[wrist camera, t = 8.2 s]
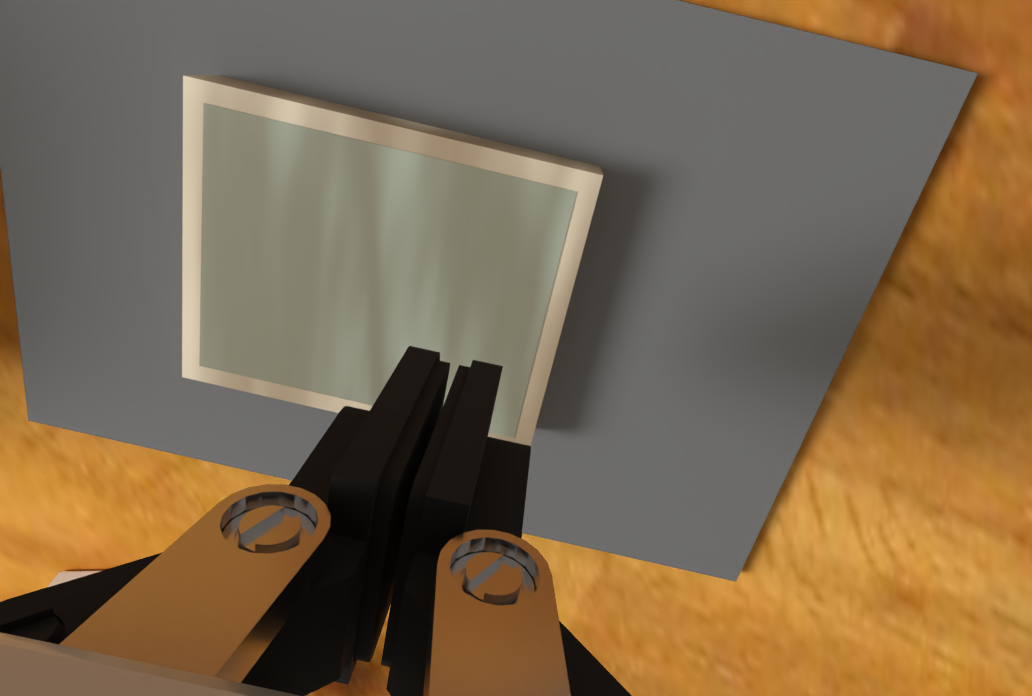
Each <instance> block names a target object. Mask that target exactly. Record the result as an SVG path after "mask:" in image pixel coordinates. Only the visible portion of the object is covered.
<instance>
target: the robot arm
mask: <svg viewBox="0 0 1032 696" xmlns="http://www.w3.org/2000/svg"><path fill="white" fill-rule="evenodd" d="M502 368H503V366H500V365H495V364H491V363H486V362H482V361H477V360H473V361H472V364H471V366H470V367H467V366H462V365H459V367H458V369H457V372H456V374H455V377H454V380H453V382H452V385H451V387H450V390H449V392H448V395H447V398H446V400H445V403H444V398H445V393H446V387H447V381H448V376H449V370H450V363H448V362H444V361H440V352H436V351H431V350H427V349H422V348H418V347H413V346H409V347H408V348H407V350H406V352H405V353H404V355H403V356H402V358H401V360H400V361H399V363H398V365H397V366H396V368H395V370H394V371H393V373H392V375H391V376H390V378H389V380H388V381H387V383H386V385H385V386H384V388H383V390H382V391H381V393H380V395H379V396H378V398H377V400H376V401H375V403H374V405H373V406H372V408H371V410H370V411H368V410H364V409H359V408H355V407H350V406H344V407H343V408H342V409H341V411H340V412H339V413H338V415H337V416H336V418H335V419H334V421H333V422H332V424H331V425H330V426H329V428H328V429H327V431H326V432H325V434H324V435H323V437H322V438H321V440H320V441H319V442H318V444H317V445H316V447H315V448H314V450H313V451H312V453H311V454H310V455H309V457H308V458H307V460H306V461H305V463H304V464H303V466H302V467H301V468H300V470H299V471H298V473H297V474H296V476H295V477H294V479H293V480H292V481H291V483H290V484H289V485H273V484H266V485H260V486H255V487H249V488H246V489H243V490H241V491H238V492H235V493H233V494H231V495H229V496H228V497H226V498H225V499H224V500H222V501H221V502H219V503H218V504H217V505H215V506H214V507H213V508H212V509H211V510H210V511H209V512H208V513H206V514H205V515H204V516H203V517H202V518H201V519H200V520H199V521H197V522H196V523H195V524H194V525H193V526H192V527H191V528H190V529H188V530H187V531H186V532H185V533H184V534H183V535H182V536H181V537H179V538H178V539H177V540H176V541H175V542H174V543H173V544H172V545H170V546H169V547H168V548H167V549H166V550H165V551H164V552H163V553H160V554H156V555H153V556H150V557H146V558H143V559H140V560H136V561H133V562H130V563H127V564H123V565H120V566H117V567H113V568H110V569H107V570H103V571H100V572H97V573H93V574H90V575H87V576H83V577H80V578H77V579H74V580H70V581H67V582H64V583H60V584H57V585H54V586H50V587H47V588H44V589H40V590H37V591H34V592H30V593H27V594H24V595H21V596H17V597H14V598H11V599H7V600H5V601H2V602H0V696H312V694H313V692H314V691H316V690H318V689H320V688H322V687H324V686H326V685H328V684H330V683H332V682H334V681H335V682H339V683H344V684H348V683H349V680H350V678H351V675H352V672H353V670H354V667H355V664H356V661H357V660H360V661H365V662H370V661H371V659H372V656H373V654H374V651H375V648H376V645H377V642H378V639H379V636H380V633H381V630H382V627H383V624H384V622H385V619H386V616H387V613H388V610H389V607H390V604H391V607H390V613H389V619H388V625H387V631H386V637H385V643H384V649H383V655H382V662H381V665H384V666H388V667H390V672H389V677H388V683H387V690H388V692H389V693H390V695H391V696H631V695H630V694H629V693H628V692H627V691H626V689H625V688H624V687H623V686H622V685H621V684H620V683H619V682H618V681H617V680H616V679H615V678H614V677H613V676H612V675H611V674H610V673H609V672H608V671H607V670H606V669H605V668H604V667H603V666H602V665H601V664H600V663H599V661H598V660H597V659H596V658H595V657H594V656H593V655H592V654H591V653H590V652H589V651H588V650H587V649H586V648H585V647H584V646H583V645H582V644H581V643H580V642H579V641H578V640H577V639H576V638H575V637H574V636H573V635H572V633H571V632H570V631H569V630H568V629H567V628H566V627H565V626H564V625H563V624H562V623H561V622H560V621H559V618H558V612H557V605H556V599H555V593H554V586H553V580H552V575H551V572H550V569H549V566H548V563H547V561H546V560H545V559H544V558H543V556H542V555H541V554H540V552H539V551H538V550H537V549H536V548H534V547H533V546H532V545H530V544H529V543H528V542H526V541H525V540H523V539H521V537H522V528H523V518H524V509H525V500H526V491H527V481H528V472H529V463H530V454H531V446H529V445H524V444H520V443H515V442H511V441H506V440H501V439H497V438H492V437H488V433H489V429H490V424H491V419H492V415H493V410H494V406H495V401H496V396H497V392H498V387H499V382H500V378H501V373H502ZM443 404H444V405H443Z"/></svg>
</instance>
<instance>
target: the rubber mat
mask: <svg viewBox="0 0 1032 696" xmlns="http://www.w3.org/2000/svg"><path fill="white" fill-rule="evenodd" d="M977 74H978V73H975V72H971V71H966V70H962V69H958V68H954V67H950V66H946V65H942V64H938V63H934V62H929V61H925V60H921V59H917V58H913V57H909V56H905V55H901V54H897V53H892V52H888V51H884V50H880V49H876V48H872V47H868V46H864V45H860V44H855V43H851V42H847V41H843V40H839V39H835V38H831V37H827V36H823V35H819V34H814V33H810V32H806V31H802V30H798V29H794V28H790V27H786V26H782V25H777V24H773V23H769V22H765V21H761V20H757V19H753V18H749V17H745V16H740V15H736V14H732V13H728V12H724V11H720V10H716V9H712V8H708V7H703V6H699V5H695V4H691V3H687V2H683V1H679V0H0V169H1V178H2V187H3V196H4V205H5V214H6V223H7V232H8V241H9V250H10V259H11V268H12V277H13V286H14V295H15V304H16V313H17V322H18V331H19V340H20V348H21V357H22V366H23V375H24V384H25V393H26V402H27V411H28V420H29V421H33V422H37V423H41V424H46V425H50V426H55V427H59V428H63V429H68V430H72V431H77V432H81V433H85V434H90V435H94V436H99V437H103V438H107V439H112V440H116V441H121V442H125V443H129V444H134V445H138V446H143V447H147V448H151V449H156V450H160V451H165V452H169V453H173V454H178V455H182V456H186V457H191V458H195V459H200V460H204V461H208V462H213V463H217V464H222V465H226V466H230V467H235V468H239V469H244V470H248V471H252V472H257V473H261V474H266V475H270V476H274V477H279V478H283V479H288V480H293V479H294V477H295V476H296V474H297V473H298V471H299V470H300V468H301V467H302V466H303V464H304V463H305V461H306V460H307V458H308V457H309V455H310V454H311V453H312V451H313V450H314V448H315V447H316V445H317V444H318V442H319V441H320V440H321V438H322V437H323V435H324V434H325V432H326V431H327V429H328V428H329V426H330V425H331V424H332V422H333V421H334V419H335V418H336V416H337V415H338V413H336V412H332V411H327V410H323V409H319V408H314V407H310V406H306V405H301V404H297V403H293V402H288V401H284V400H280V399H275V398H271V397H266V396H262V395H258V394H253V393H249V392H245V391H240V390H236V389H232V388H227V387H223V386H219V385H214V384H210V383H206V382H201V381H197V380H192V379H188V378H184V377H182V235H183V75H219V76H224V77H228V78H232V79H236V80H240V81H245V82H249V83H253V84H257V85H261V86H266V87H270V88H274V89H278V90H282V91H287V92H291V93H295V94H299V95H303V96H307V97H312V98H316V99H320V100H324V101H328V102H333V103H337V104H341V105H345V106H349V107H354V108H358V109H362V110H366V111H370V112H375V113H379V114H383V115H387V116H391V117H396V118H400V119H404V120H408V121H412V122H417V123H421V124H425V125H429V126H433V127H438V128H442V129H446V130H450V131H454V132H459V133H463V134H467V135H471V136H475V137H480V138H484V139H488V140H492V141H496V142H501V143H505V144H509V145H513V146H517V147H522V148H526V149H530V150H534V151H538V152H543V153H547V154H551V155H555V156H559V157H564V158H568V159H572V160H576V161H580V162H585V163H589V164H593V165H597V166H600V167H601V170H602V173H603V179H602V182H601V186H600V190H599V194H598V197H597V201H596V205H595V208H594V212H593V216H592V220H591V223H590V227H589V231H588V234H587V238H586V242H585V245H584V249H583V253H582V257H581V260H580V264H579V268H578V271H577V275H576V279H575V283H574V286H573V290H572V294H571V297H570V301H569V305H568V309H567V312H566V316H565V320H564V323H563V327H562V331H561V334H560V338H559V342H558V346H557V349H556V353H555V357H554V360H553V364H552V368H551V372H550V375H549V379H548V383H547V386H546V390H545V394H544V398H543V401H542V405H541V409H540V412H539V416H538V420H537V423H536V427H535V431H534V435H533V438H532V442H531V454H530V463H529V472H528V481H527V491H526V500H525V509H524V518H523V528H522V533H525V534H529V535H534V536H538V537H542V538H547V539H551V540H556V541H560V542H564V543H569V544H573V545H578V546H582V547H586V548H591V549H595V550H600V551H604V552H608V553H613V554H617V555H622V556H626V557H630V558H635V559H639V560H644V561H648V562H652V563H657V564H661V565H666V566H670V567H674V568H679V569H683V570H688V571H692V572H696V573H701V574H705V575H709V576H714V577H718V578H723V579H727V580H731V581H736V580H737V578H738V576H739V574H740V572H741V570H742V568H743V566H744V564H745V562H746V559H747V557H748V555H749V553H750V551H751V549H752V547H753V545H754V543H755V541H756V538H757V536H758V534H759V532H760V530H761V528H762V526H763V524H764V522H765V520H766V517H767V515H768V513H769V511H770V509H771V507H772V505H773V503H774V501H775V498H776V496H777V494H778V492H779V490H780V488H781V486H782V484H783V482H784V480H785V477H786V475H787V473H788V471H789V469H790V467H791V465H792V463H793V461H794V459H795V456H796V454H797V452H798V450H799V448H800V446H801V444H802V442H803V440H804V438H805V435H806V433H807V431H808V429H809V427H810V425H811V423H812V421H813V419H814V417H815V414H816V412H817V410H818V408H819V406H820V404H821V402H822V400H823V398H824V396H825V393H826V391H827V389H828V387H829V385H830V383H831V381H832V379H833V377H834V375H835V372H836V370H837V368H838V366H839V364H840V362H841V360H842V358H843V356H844V353H845V351H846V349H847V347H848V345H849V343H850V341H851V339H852V337H853V335H854V332H855V330H856V328H857V326H858V324H859V322H860V320H861V318H862V316H863V314H864V311H865V309H866V307H867V305H868V303H869V301H870V299H871V297H872V295H873V293H874V290H875V288H876V286H877V284H878V282H879V280H880V278H881V276H882V274H883V272H884V269H885V267H886V265H887V263H888V261H889V259H890V257H891V255H892V253H893V251H894V248H895V246H896V244H897V242H898V240H899V238H900V236H901V234H902V232H903V230H904V227H905V225H906V223H907V221H908V219H909V217H910V215H911V213H912V211H913V208H914V206H915V204H916V202H917V200H918V198H919V196H920V194H921V192H922V190H923V187H924V185H925V183H926V181H927V179H928V177H929V175H930V173H931V171H932V169H933V166H934V164H935V162H936V160H937V158H938V156H939V154H940V152H941V150H942V148H943V145H944V143H945V141H946V139H947V137H948V135H949V133H950V131H951V129H952V127H953V124H954V122H955V120H956V118H957V116H958V114H959V112H960V110H961V108H962V106H963V103H964V101H965V99H966V97H967V95H968V93H969V91H970V89H971V87H972V85H973V82H974V80H975V78H976V76H977Z"/></svg>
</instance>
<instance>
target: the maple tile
mask: <svg viewBox="0 0 1032 696" xmlns="http://www.w3.org/2000/svg"><path fill="white" fill-rule="evenodd" d="M602 179H603V173H602V170H601V167H600V166H597V165H593V164H589V163H585V162H580V161H576V160H572V159H568V158H564V157H559V156H555V155H551V154H547V153H543V152H538V151H534V150H530V149H526V148H522V147H517V146H513V145H509V144H505V143H501V142H496V141H492V140H488V139H484V138H480V137H475V136H471V135H467V134H463V133H459V132H454V131H450V130H446V129H442V128H438V127H433V126H429V125H425V124H421V123H417V122H412V121H408V120H404V119H400V118H396V117H391V116H387V115H383V114H379V113H375V112H370V111H366V110H362V109H358V108H354V107H349V106H345V105H341V104H337V103H333V102H328V101H324V100H320V99H316V98H312V97H307V96H303V95H299V94H295V93H291V92H287V91H282V90H278V89H274V88H270V87H266V86H261V85H257V84H253V83H249V82H245V81H240V80H236V79H232V78H228V77H224V76H219V75H183V235H182V377H184V378H188V379H192V380H197V381H201V382H206V383H210V384H214V385H219V386H223V387H227V388H232V389H236V390H240V391H245V392H249V393H253V394H258V395H262V396H266V397H271V398H275V399H280V400H284V401H288V402H293V403H297V404H301V405H306V406H310V407H314V408H319V409H323V410H327V411H332V412H336V413H339V412H340V411H341V409H342V408H343V407H344V406H350V407H355V408H359V409H364V410H368V411H370V410H371V408H372V406H373V405H374V403H375V401H376V400H377V398H378V396H379V395H380V393H381V391H382V390H383V388H384V386H385V385H386V383H387V381H388V380H389V378H390V376H391V375H392V373H393V371H394V370H395V368H396V366H397V365H398V363H399V361H400V360H401V358H402V356H403V355H404V353H405V352H406V350H407V348H408V347H409V346H413V347H418V348H422V349H427V350H431V351H436V352H440V361H444V362H448V363H450V370H449V376H448V381H447V387H446V393H445V398H444V403H445V400H446V398H447V395H448V392H449V390H450V387H451V385H452V382H453V380H454V377H455V374H456V372H457V369H458V367H459V365H462V366H467V367H470V366H471V364H472V361H473V360H477V361H482V362H486V363H491V364H495V365H500V366H503V368H502V373H501V378H500V382H499V387H498V392H497V396H496V401H495V406H494V410H493V415H492V419H491V424H490V429H489V433H488V437H492V438H497V439H501V440H506V441H511V442H515V443H520V444H524V445H529V446H531V442H532V438H533V435H534V431H535V427H536V423H537V420H538V416H539V412H540V409H541V405H542V401H543V398H544V394H545V390H546V386H547V383H548V379H549V375H550V372H551V368H552V364H553V360H554V357H555V353H556V349H557V346H558V342H559V338H560V334H561V331H562V327H563V323H564V320H565V316H566V312H567V309H568V305H569V301H570V297H571V294H572V290H573V286H574V283H575V279H576V275H577V271H578V268H579V264H580V260H581V257H582V253H583V249H584V245H585V242H586V238H587V234H588V231H589V227H590V223H591V220H592V216H593V212H594V208H595V205H596V201H597V197H598V194H599V190H600V186H601V182H602ZM443 405H444V404H443Z"/></svg>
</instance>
